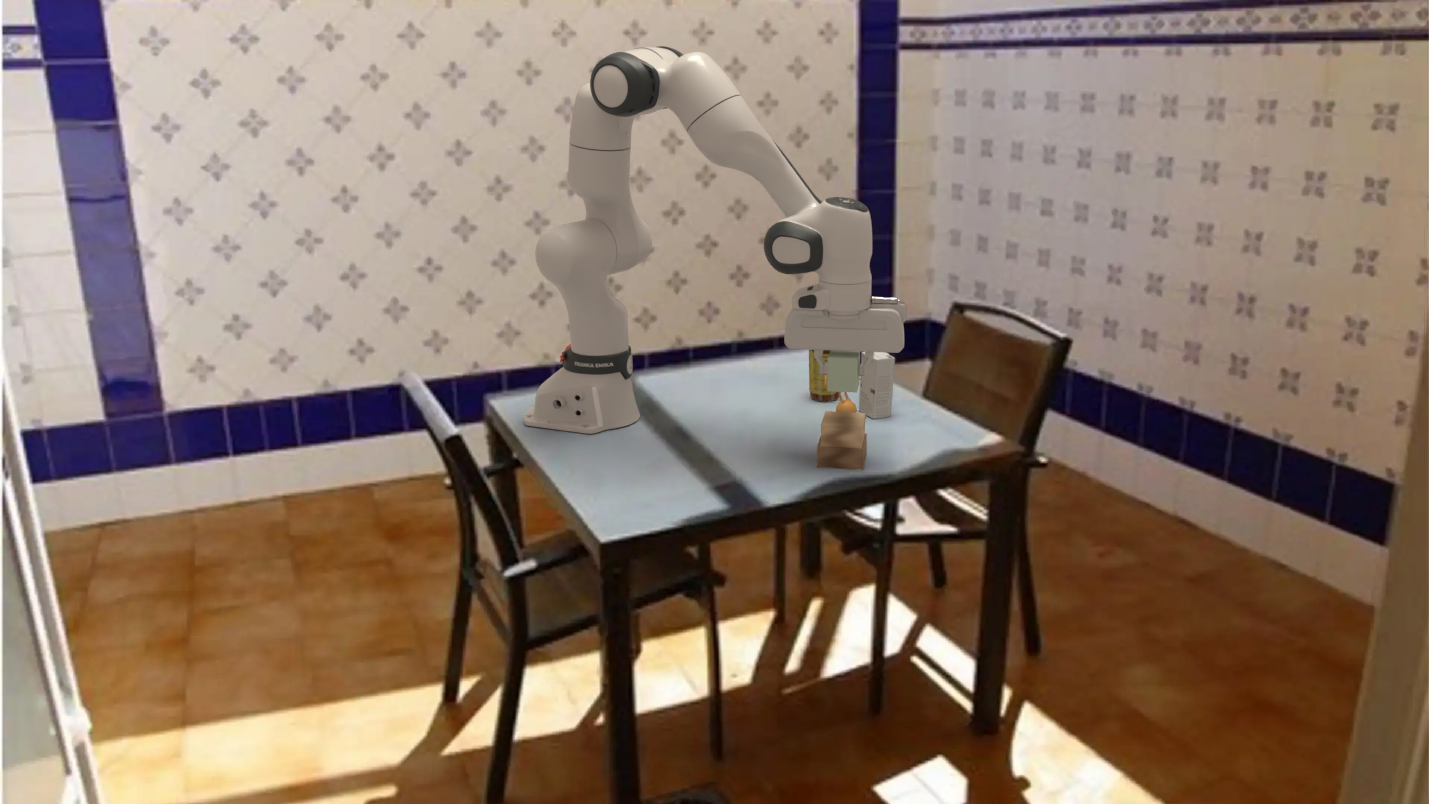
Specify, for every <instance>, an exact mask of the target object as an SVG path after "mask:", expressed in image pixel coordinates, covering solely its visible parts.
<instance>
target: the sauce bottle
mask: <svg viewBox="0 0 1429 804" xmlns="http://www.w3.org/2000/svg"><path fill="white" fill-rule="evenodd" d="M830 351H831V350H823V354H822V357H823V359H824V361H825V363H828V356H829V353H830ZM808 368H809V369H808V375H809V376H808V381H809V383H808V384H809V387H808V388H809V389H808V390H809V396H810V398H811V399H813V400H815V401H818V402H819V401H820V402H823V403H825V402H826V403H827V402H830V401H831V402H832V401H836V400H838V399H840V397H839V393H838V392H832V391H827V385H826V386H824V381H825V379H824V378H825V375H820V365H819V363H818V362H817V360H816V358H815V357H814V350H808ZM827 379H828V375H827ZM826 382H827V381H826Z"/></svg>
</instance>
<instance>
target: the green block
mask: <svg viewBox="0 0 1429 804" xmlns="http://www.w3.org/2000/svg"><path fill="white" fill-rule="evenodd" d="M859 364H861V351H833V350H831V351H830V353H829V356H828V379H827V391H832V392H841V393H844V392H847V393H855V394H857V393H858V390H859V388H860V380H859V377H860V376H858V372H859V371H858V366H859Z"/></svg>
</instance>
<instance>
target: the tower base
mask: <svg viewBox="0 0 1429 804" xmlns="http://www.w3.org/2000/svg"><path fill="white" fill-rule="evenodd" d="M867 438H868V433H866V432H865V436H864V440H863V444H862V448H845V447H826V446H821V434H820V436H819V439H818V443H817V445H816V468H819V469H820V468H821V469H839V470H841V469H842V470H856V469H861V470H860V471H864V467H865V461H866V458H867V457H866V456H867V449H868V448H867V444H868V442H867V440H868V439H867Z"/></svg>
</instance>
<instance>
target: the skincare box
mask: <svg viewBox="0 0 1429 804" xmlns="http://www.w3.org/2000/svg"><path fill="white" fill-rule="evenodd" d="M866 359H867V358H866V357H865V352H861V356H860V364H864V362H865V361H866ZM895 362H896V358H895V357H894V356H892V355H890V353H889V352H874V357H873V359H872V361H871V362H870V364H869V365H868V367H867V376H866V377H865V376H860V380H859V395H858V397H859V398H858V410H859V411H860V413H865V416H867V417H869V418H870V419H883V418H887V417H891V416H892V405H893V394H894V393H893V392H894V391H893V390H894V377H895V376H894V375H895V374H894V373H895Z"/></svg>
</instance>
